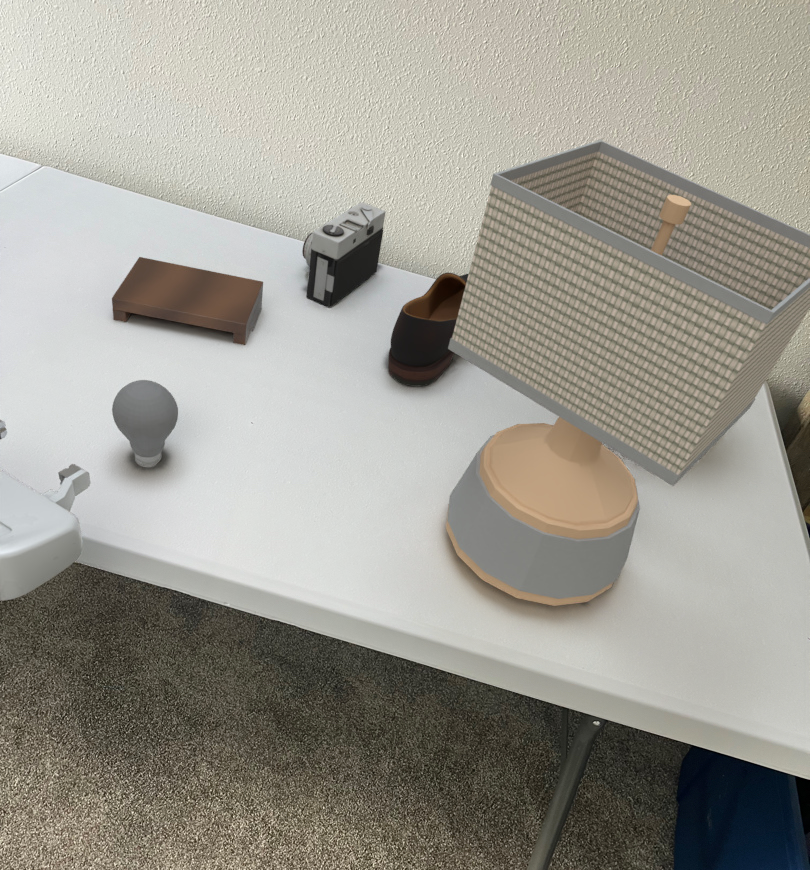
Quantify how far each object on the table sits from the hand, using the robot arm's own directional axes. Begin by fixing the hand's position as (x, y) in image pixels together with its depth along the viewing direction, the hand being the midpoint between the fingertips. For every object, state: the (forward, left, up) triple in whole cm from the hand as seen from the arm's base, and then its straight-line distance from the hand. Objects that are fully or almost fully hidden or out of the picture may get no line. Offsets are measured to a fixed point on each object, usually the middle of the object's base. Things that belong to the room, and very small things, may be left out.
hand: (41, 448), depth 65 cm
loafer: (+35, +46, -10) cm, 59 cm away
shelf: (+2, +40, -10) cm, 41 cm away
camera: (+18, +57, -10) cm, 60 cm away
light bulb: (+5, +11, -10) cm, 16 cm away
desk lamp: (+45, +9, -10) cm, 47 cm away
